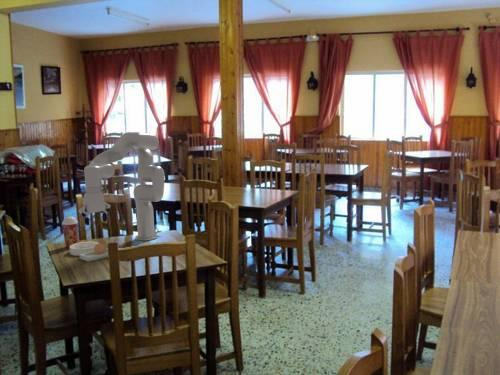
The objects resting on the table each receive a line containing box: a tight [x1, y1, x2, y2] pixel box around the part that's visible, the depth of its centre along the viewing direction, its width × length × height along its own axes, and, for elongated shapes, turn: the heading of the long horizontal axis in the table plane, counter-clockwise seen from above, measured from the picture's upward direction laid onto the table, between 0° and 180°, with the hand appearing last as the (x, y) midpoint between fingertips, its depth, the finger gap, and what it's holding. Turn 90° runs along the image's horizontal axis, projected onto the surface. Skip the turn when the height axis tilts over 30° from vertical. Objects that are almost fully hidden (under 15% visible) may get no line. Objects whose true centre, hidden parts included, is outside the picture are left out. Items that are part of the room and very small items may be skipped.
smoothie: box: [61, 210, 79, 249], centre depth 290 cm, size 8×8×20 cm
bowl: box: [69, 241, 99, 257], centre depth 281 cm, size 15×15×4 cm
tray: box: [79, 247, 109, 263], centre depth 270 cm, size 16×9×2 cm, turn 134°
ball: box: [94, 242, 107, 255], centre depth 271 cm, size 6×6×6 cm
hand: (96, 223), depth 268 cm, fingers open, 9 cm apart
